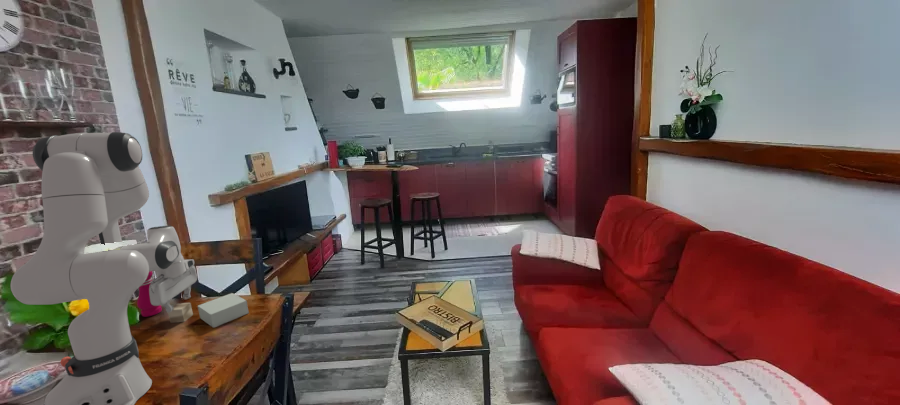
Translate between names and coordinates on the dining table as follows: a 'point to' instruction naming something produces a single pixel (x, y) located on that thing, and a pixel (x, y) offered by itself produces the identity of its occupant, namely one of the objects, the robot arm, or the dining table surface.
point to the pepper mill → (147, 299)
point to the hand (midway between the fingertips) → (179, 304)
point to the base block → (223, 309)
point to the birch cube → (180, 312)
